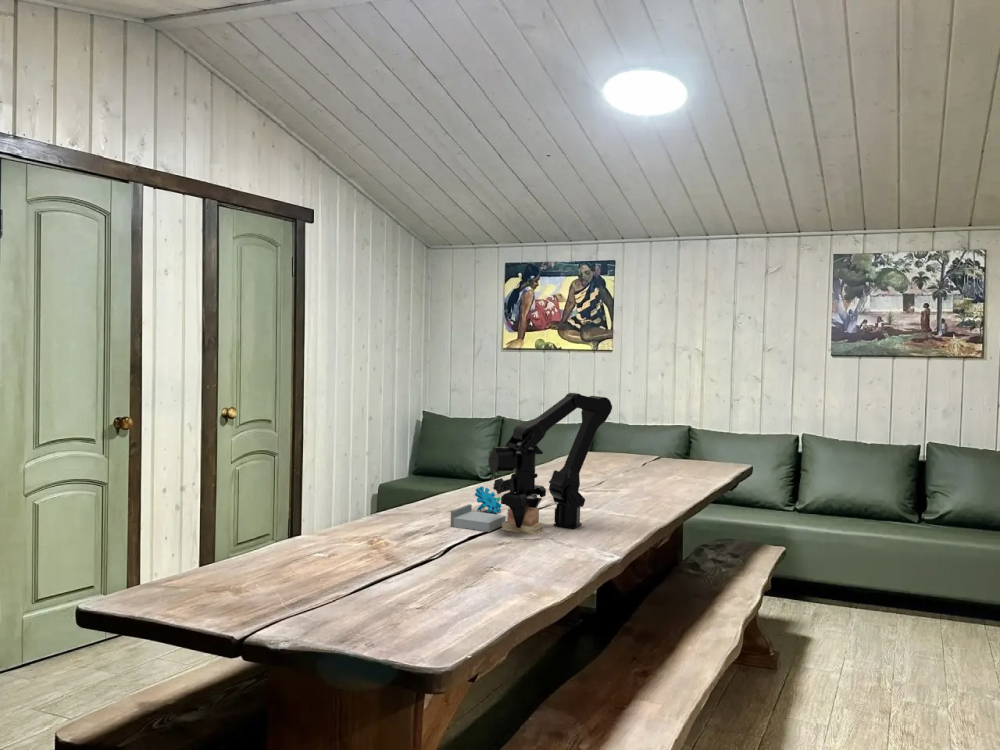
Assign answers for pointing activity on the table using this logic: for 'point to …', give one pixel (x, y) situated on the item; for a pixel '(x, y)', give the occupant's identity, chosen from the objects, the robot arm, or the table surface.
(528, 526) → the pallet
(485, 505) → the gear
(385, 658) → the table surface
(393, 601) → the table surface
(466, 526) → the dock
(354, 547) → the table surface
